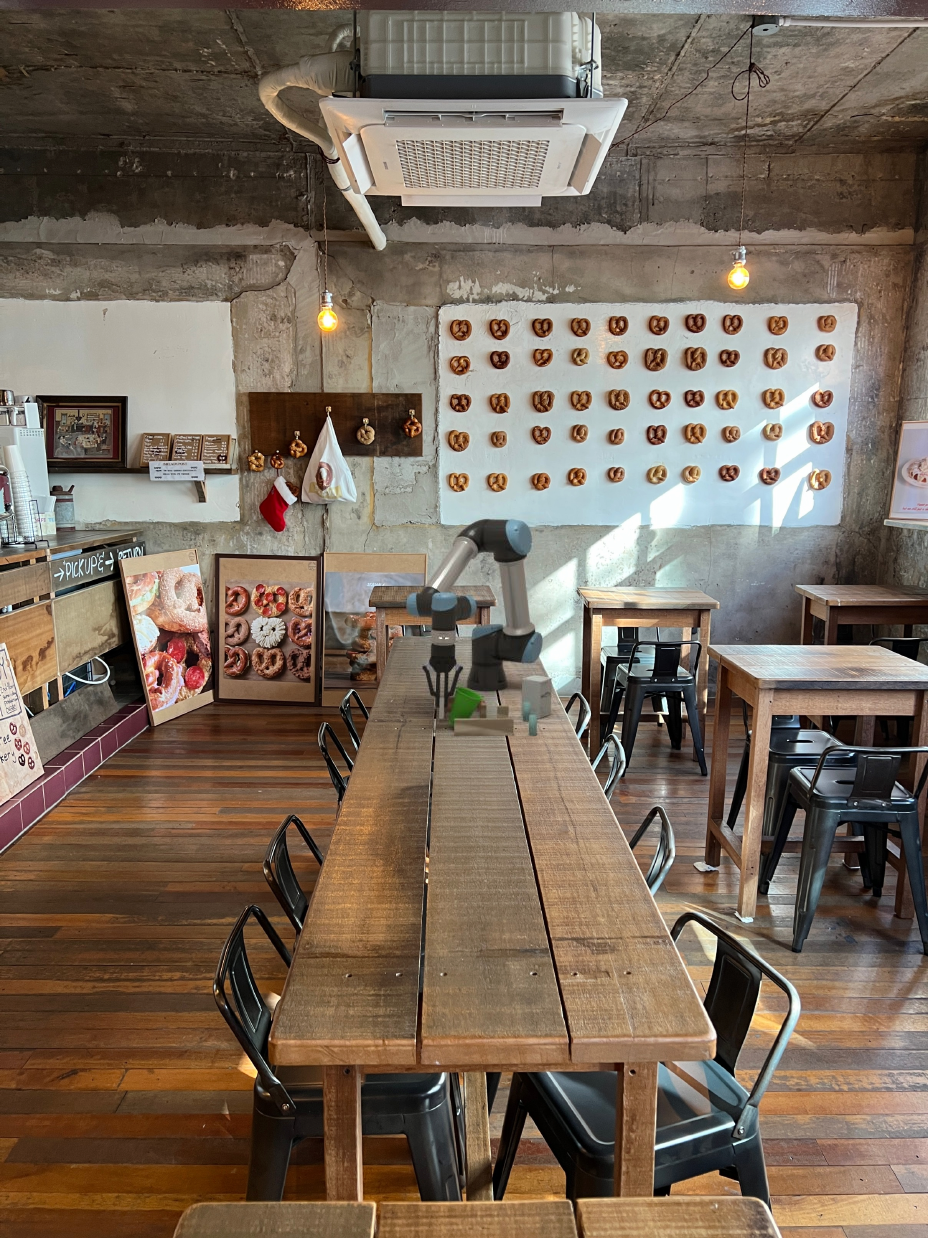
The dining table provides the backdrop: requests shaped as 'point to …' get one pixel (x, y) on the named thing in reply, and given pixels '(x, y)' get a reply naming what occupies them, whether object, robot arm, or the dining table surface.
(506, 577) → the robot arm
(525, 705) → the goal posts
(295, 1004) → the dining table surface
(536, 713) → the supplement box
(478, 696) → the cup
